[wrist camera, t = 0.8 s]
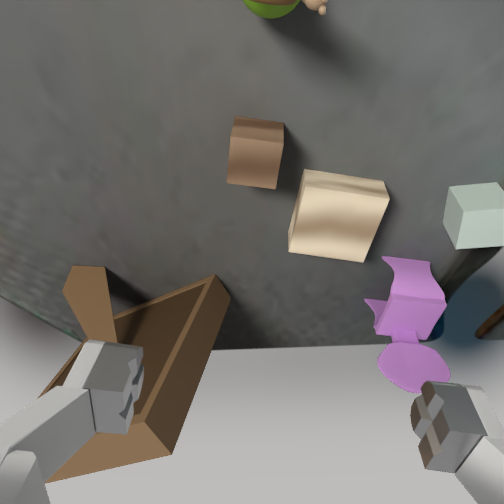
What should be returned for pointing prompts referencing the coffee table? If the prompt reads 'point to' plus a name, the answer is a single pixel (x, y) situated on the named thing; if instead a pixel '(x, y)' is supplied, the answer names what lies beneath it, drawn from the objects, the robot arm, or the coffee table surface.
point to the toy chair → (410, 325)
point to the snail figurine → (282, 7)
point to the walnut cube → (255, 152)
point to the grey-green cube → (475, 215)
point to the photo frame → (145, 362)
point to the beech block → (336, 215)
